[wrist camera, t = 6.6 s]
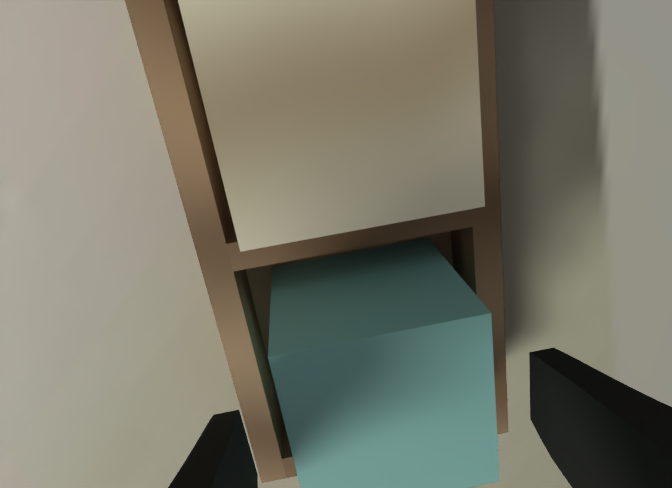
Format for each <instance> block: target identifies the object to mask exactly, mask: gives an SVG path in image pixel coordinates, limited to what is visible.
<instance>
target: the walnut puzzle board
mask: <svg viewBox="0 0 672 488" xmlns="http://www.w3.org/2000/svg"><path fill="white" fill-rule="evenodd" d="M125 2H126V6H127V9H128V13H129V16H130V20H131V23H132V27H133V30H134V34H135V37H136V41H137V44H138V48H139V51H140V55H141V58H142V62H143V66H144V69H145V73H146V76H147V80H148V83H149V87H150V90H151V94H152V97H153V101H154V104H155V108H156V111H157V115H158V118H159V122H160V125H161V129H162V132H163V136H164V139H165V143H166V147H167V150H168V154H169V157H170V161H171V164H172V168H173V171H174V175H175V178H176V182H177V185H178V189H179V192H180V196H181V199H182V203H183V206H184V210H185V213H186V217H187V220H188V224H189V228H190V231H191V235H192V238H193V242H194V245H195V249H196V252H197V256H198V259H199V263H200V266H201V270H202V273H203V277H204V280H205V284H206V287H207V291H208V294H209V298H210V301H211V305H212V308H213V312H214V316H215V319H216V323H217V326H218V330H219V333H220V337H221V340H222V344H223V347H224V351H225V354H226V358H227V361H228V365H229V368H230V372H231V375H232V379H233V382H234V386H235V389H236V393H237V397H238V400H239V404H240V407H241V411H242V414H243V418H244V421H245V425H246V428H247V432H248V435H249V439H250V442H251V446H252V449H253V453H254V456H255V460H256V463H257V467H258V470H259V474H260V477H261V481H262V483H264V482H269V481H274V480H279V479H284V478H288V477H293V476H297V472H296V468H295V464H294V460H293V456H292V452H291V448H290V444H289V440H288V436H287V432H286V428H285V424H284V420H283V416H282V412H281V408H280V404H279V400H278V396H277V392H276V388H275V384H274V380H273V376H272V372H271V368H270V364H269V360H268V344H269V324H270V303H271V283H272V267H275V266H281V265H286V264H291V263H296V262H302V261H307V260H312V259H318V258H323V257H328V256H333V255H339V254H344V253H349V252H354V251H360V250H365V249H370V248H376V247H381V246H386V245H391V244H397V243H402V242H407V241H413V240H418V239H423V238H428V239H429V240H430V241H431V242H432V244H433V245H434V246H435V247H436V248H437V250H438V251H439V252H440V253H441V254H442V255H443V257H444V258H445V259H446V260H447V261H448V263H449V264H450V265H451V266H452V267H453V268H454V270H455V271H456V272H457V273H458V274H459V276H460V277H461V278H462V279H463V280H464V281H465V283H466V284H467V285H468V286H469V287H470V288H471V290H472V291H473V292H474V293H475V294H476V296H477V297H478V298H479V299H480V300H481V301H482V303H483V304H484V305H485V306H486V307H487V309H488V310H489V311H490V312H491V316H492V337H493V358H494V378H495V399H496V420H497V434H502V433H507V432H508V411H507V382H506V353H505V324H504V295H503V266H502V237H501V208H500V179H499V150H498V121H497V91H496V62H495V33H494V4H493V0H125Z"/></svg>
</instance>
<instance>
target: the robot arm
mask: <svg viewBox="0 0 672 488" xmlns="http://www.w3.org/2000/svg"><path fill="white" fill-rule="evenodd" d="M530 415H531V421H532V423H533V425H534V426H535V428H536V430H537V432H538V434H539V436H540V438H541V440H542V442H543V443H544V445H545V447H546V449H547V451H548V452H549V454H550V456H551V458H552V459H553V461H554V462H555V463H556V465H557V466H558V468H559V469H560V471H561V472H562V474H563V475H564V476H565V478H566V479H567V481H568V482H569V483H570V485H571V486H572V488H672V407H670V406H668V405H666V404H664V403H661V402H659V401H657V400H655V399H653V398H651V397H649V396H647V395H645V394H643V393H641V392H639V391H637V390H635V389H633V388H630V387H628V386H627V385H625V384H623V383H621V382H619V381H617V380H615V379H613V378H611V377H609V376H607V375H605V374H604V373H602V372H600V371H598V370H596V369H594V368H592V367H590V366H588V365H587V364H585V363H583V362H581V361H579V360H577V359H575V358H573V357H571V356H569V355H567V354H565V353H563V352H561V351H559V350H557V349H555V348H550V349H545V350H540V351H535V352H530ZM168 488H258V485H257V472H256V468H255V464H254V461H253V457H252V454H251V450H250V447H249V443H248V440H247V436H246V433H245V429H244V426H243V422H242V419H241V415H240V412H239V410H236V411H231V412H226V413H221V414H216V415H213V417H212V418H211V419H210V421H209V423H208V424H207V426H206V428H205V429H204V431H203V433H202V434H201V436H200V438H199V439H198V441H197V443H196V444H195V446H194V448H193V449H192V451H191V453H190V454H189V456H188V458H187V459H186V461H185V462H184V464H183V466H182V467H181V469H180V470H179V472H178V473H177V475H176V476H175V478H174V479H173V481H172V483H171V484H170V486H169V487H168Z"/></svg>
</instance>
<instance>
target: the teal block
mask: <svg viewBox="0 0 672 488" xmlns="http://www.w3.org/2000/svg"><path fill="white" fill-rule="evenodd" d="M268 360H269V364H270V368H271V372H272V376H273V380H274V384H275V388H276V392H277V396H278V400H279V404H280V408H281V412H282V416H283V420H284V424H285V428H286V432H287V436H288V440H289V444H290V448H291V452H292V456H293V460H294V464H295V468H296V472H297V476H298V480H299V484H300V488H469V487H474V486H479V485H483V484H488V483H493V482H498V481H499V461H498V440H497V420H496V399H495V378H494V358H493V337H492V316H491V312H490V311H489V310H488V309H487V307H486V306H485V305H484V304H483V303H482V301H481V300H480V299H479V298H478V297H477V296H476V294H475V293H474V292H473V291H472V290H471V288H470V287H469V286H468V285H467V284H466V283H465V281H464V280H463V279H462V278H461V277H460V276H459V274H458V273H457V272H456V271H455V270H454V268H453V267H452V266H451V265H450V264H449V263H448V261H447V260H446V259H445V258H444V257H443V255H442V254H441V253H440V252H439V251H438V250H437V248H436V247H435V246H434V245H433V244H432V242H431V241H430V240H429V239H428V238H423V239H418V240H413V241H407V242H402V243H397V244H391V245H386V246H381V247H376V248H370V249H365V250H360V251H354V252H349V253H344V254H339V255H333V256H328V257H323V258H318V259H312V260H307V261H302V262H296V263H291V264H286V265H281V266H275V267H272V283H271V303H270V324H269V344H268Z"/></svg>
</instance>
